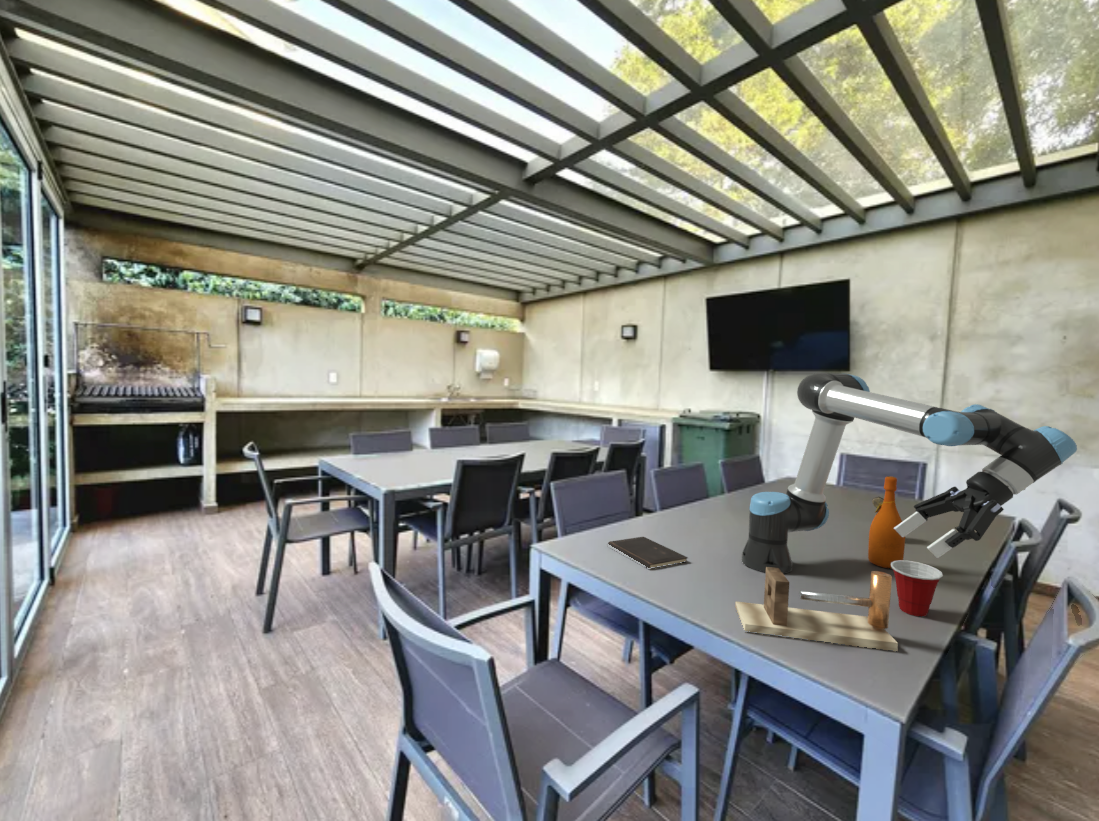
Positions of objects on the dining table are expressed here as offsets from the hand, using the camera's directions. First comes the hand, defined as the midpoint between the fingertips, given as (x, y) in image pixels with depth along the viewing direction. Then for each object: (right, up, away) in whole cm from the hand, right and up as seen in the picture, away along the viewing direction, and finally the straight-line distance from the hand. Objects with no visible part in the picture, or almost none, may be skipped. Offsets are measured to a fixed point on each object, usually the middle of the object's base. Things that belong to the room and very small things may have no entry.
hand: (914, 542), depth 107 cm
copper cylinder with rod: (-14, -20, +4) cm, 24 cm away
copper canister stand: (-21, -22, +6) cm, 31 cm away
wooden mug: (+48, -21, +78) cm, 94 cm away
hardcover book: (-51, -20, +53) cm, 76 cm away
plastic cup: (+12, -23, +16) cm, 31 cm away
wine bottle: (+29, -22, +51) cm, 62 cm away
